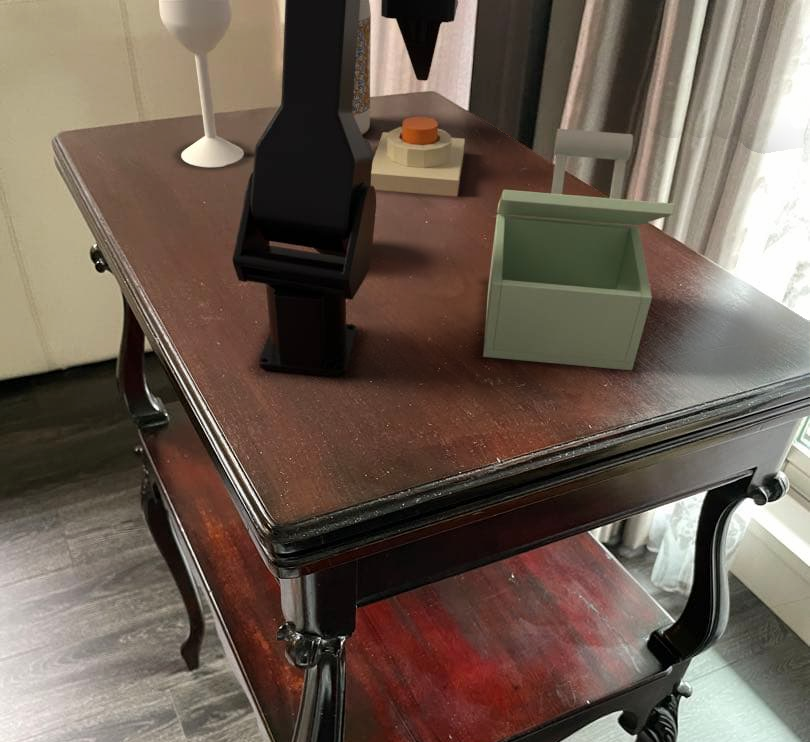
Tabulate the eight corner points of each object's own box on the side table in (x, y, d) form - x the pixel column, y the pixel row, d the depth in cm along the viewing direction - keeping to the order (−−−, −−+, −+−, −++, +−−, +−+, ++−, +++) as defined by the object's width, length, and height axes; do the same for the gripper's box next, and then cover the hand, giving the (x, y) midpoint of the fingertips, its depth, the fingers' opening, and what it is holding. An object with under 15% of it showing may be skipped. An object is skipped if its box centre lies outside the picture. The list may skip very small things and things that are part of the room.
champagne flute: (240, 168, 87) (211, -123, 70) (175, 166, 87) (129, -127, 70) (248, 143, 92) (223, -136, 75) (187, 141, 92) (147, -139, 74)
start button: (435, 148, 85) (436, 130, 84) (400, 146, 85) (400, 128, 84) (438, 135, 87) (439, 117, 86) (404, 132, 87) (404, 115, 86)
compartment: (631, 370, 64) (652, 297, 60) (483, 356, 65) (492, 283, 60) (621, 295, 72) (638, 225, 67) (488, 283, 72) (496, 213, 68)
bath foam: (376, 138, 94) (378, -80, 80) (315, 142, 93) (306, -79, 78) (362, 116, 99) (362, -94, 84) (304, 119, 97) (294, -94, 83)
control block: (457, 197, 84) (460, 161, 82) (368, 189, 85) (368, 154, 82) (463, 154, 92) (466, 121, 89) (382, 148, 92) (382, 114, 90)
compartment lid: (673, 214, 56) (687, 134, 54) (502, 200, 56) (511, 120, 55) (638, 225, 67) (649, 158, 66) (497, 213, 68) (504, 147, 66)
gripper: (526, -96, 64) (502, 120, 75) (528, -133, 77) (506, 55, 88) (382, -105, 64) (379, 110, 76) (407, -141, 77) (401, 48, 89)
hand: (422, 79), depth 82 cm, fingers closed
